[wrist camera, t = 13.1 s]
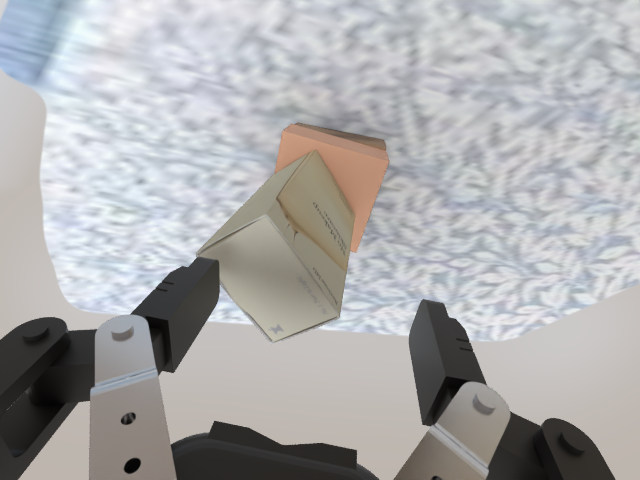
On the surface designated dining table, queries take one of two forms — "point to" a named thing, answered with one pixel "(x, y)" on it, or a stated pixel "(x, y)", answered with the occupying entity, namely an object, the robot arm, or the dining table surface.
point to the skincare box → (287, 250)
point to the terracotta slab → (340, 168)
